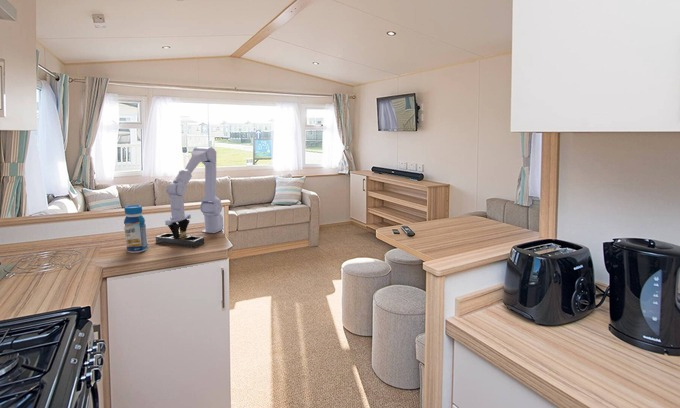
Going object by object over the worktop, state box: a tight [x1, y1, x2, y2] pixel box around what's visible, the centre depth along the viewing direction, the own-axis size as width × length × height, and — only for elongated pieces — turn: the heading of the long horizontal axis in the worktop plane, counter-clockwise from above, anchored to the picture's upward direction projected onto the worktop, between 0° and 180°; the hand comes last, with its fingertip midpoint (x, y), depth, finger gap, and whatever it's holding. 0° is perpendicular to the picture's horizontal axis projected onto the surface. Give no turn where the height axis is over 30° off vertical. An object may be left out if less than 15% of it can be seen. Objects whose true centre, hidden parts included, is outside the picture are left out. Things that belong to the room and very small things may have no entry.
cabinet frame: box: [155, 232, 205, 249], centre depth 183 cm, size 7×22×3 cm, turn 71°
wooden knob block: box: [173, 229, 187, 239], centre depth 183 cm, size 4×4×4 cm
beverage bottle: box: [123, 204, 148, 254], centre depth 170 cm, size 8×8×20 cm
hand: (179, 236), depth 183 cm, fingers closed on wooden knob block, 4 cm apart
